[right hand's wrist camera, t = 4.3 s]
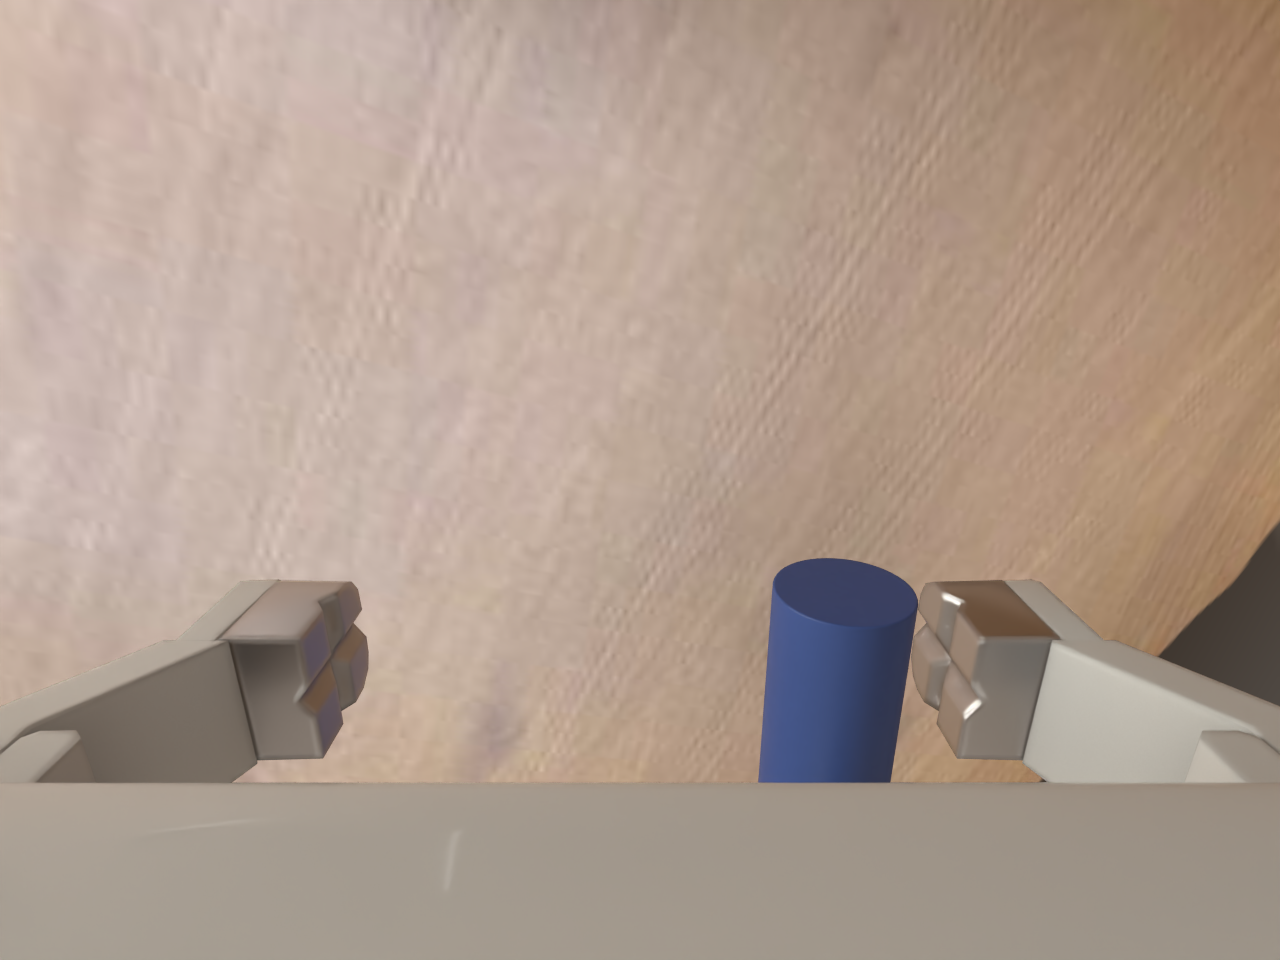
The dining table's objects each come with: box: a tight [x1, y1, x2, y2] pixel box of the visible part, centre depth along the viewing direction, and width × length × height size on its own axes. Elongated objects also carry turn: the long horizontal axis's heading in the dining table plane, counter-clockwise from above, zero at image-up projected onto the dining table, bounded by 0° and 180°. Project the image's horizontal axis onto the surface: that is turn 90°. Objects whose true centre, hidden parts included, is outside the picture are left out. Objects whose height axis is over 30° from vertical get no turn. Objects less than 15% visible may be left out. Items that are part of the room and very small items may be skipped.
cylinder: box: [758, 558, 918, 783], centre depth 35 cm, size 25×6×6 cm, turn 0°
